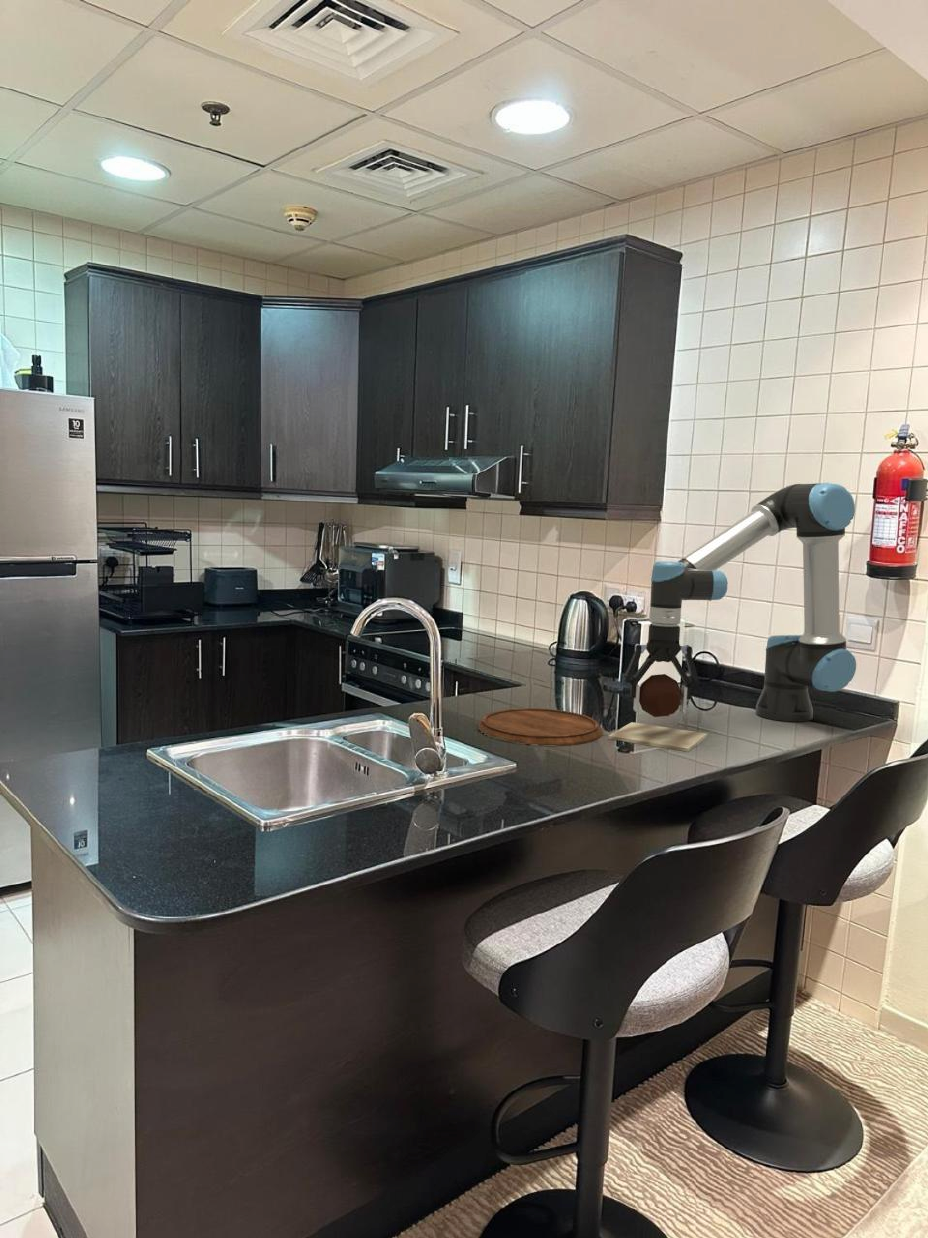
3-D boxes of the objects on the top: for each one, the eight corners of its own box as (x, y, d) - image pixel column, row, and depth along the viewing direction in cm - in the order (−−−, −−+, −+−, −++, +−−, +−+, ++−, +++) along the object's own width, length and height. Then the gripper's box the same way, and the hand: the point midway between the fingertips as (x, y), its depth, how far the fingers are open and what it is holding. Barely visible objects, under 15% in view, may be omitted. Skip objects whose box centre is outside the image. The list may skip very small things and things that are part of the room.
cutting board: (552, 755, 200) (552, 745, 200) (451, 729, 222) (451, 720, 221) (627, 732, 224) (627, 722, 224) (529, 710, 245) (529, 702, 245)
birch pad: (707, 736, 220) (707, 733, 220) (688, 751, 205) (688, 748, 205) (631, 725, 230) (631, 722, 230) (608, 738, 215) (608, 735, 215)
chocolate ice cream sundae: (639, 690, 207) (627, 679, 222) (656, 733, 208) (643, 718, 223) (680, 673, 207) (666, 663, 222) (697, 716, 208) (681, 702, 223)
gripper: (619, 624, 210) (614, 713, 213) (716, 627, 210) (710, 716, 213) (614, 620, 218) (609, 706, 220) (708, 623, 218) (702, 709, 220)
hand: (659, 711), depth 217 cm, fingers closed on chocolate ice cream sundae, 11 cm apart
